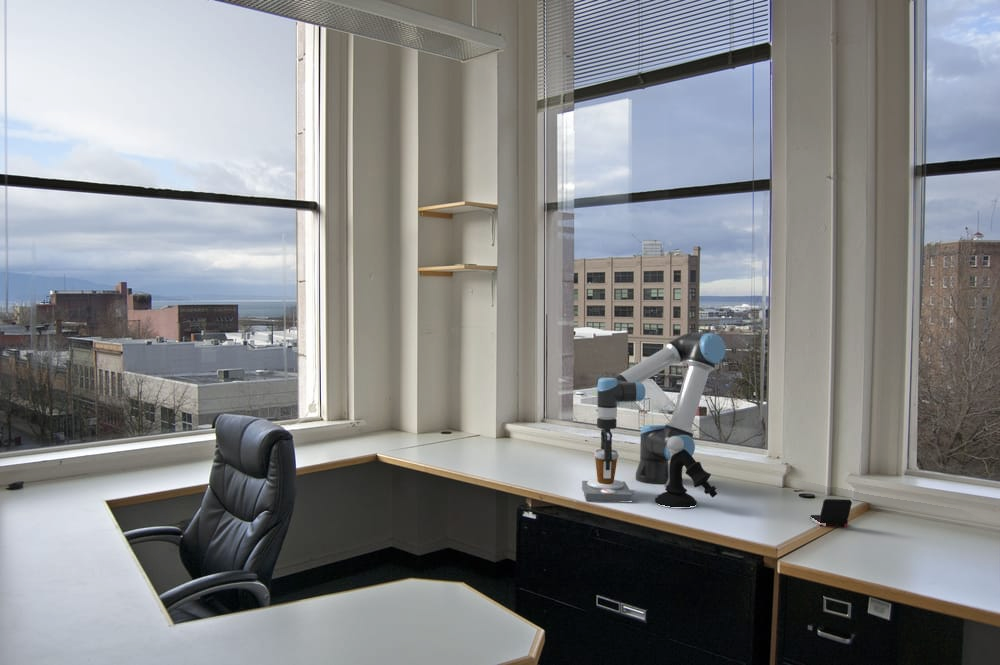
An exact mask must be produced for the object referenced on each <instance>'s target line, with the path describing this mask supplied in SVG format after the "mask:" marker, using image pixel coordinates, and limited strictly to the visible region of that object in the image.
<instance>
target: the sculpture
mask: <svg viewBox="0 0 1000 665" xmlns="http://www.w3.org/2000/svg"><path fill="white" fill-rule="evenodd" d="M667 446H668V448H669V449H670V450H669V451H670V459H671V460H669V461H668V463H669V467H668V468H669V469H668V470H669V471H668V475H669V476H668V477H669V479H668V480H667V482H666V483H664V485H663V487H664V488H665V489H664V490H665V491H663V492H661V493H660V494H658V495H657V497H655V498H654V503H655V502H656V503H658V504H660V505H665V506H670V507H690V506H695V505H696V504H697V505H698V501H697V500H696V499H695V498H694V496H692V495H691V494H689V493H687V492H688V490H687V489H686V488H685V487H684V484H683V468H684V467H685V469H686V470H685V474H686V476H688V477H689V478H691V480H692V483H693V487H694V488H699V487H703V489H704V490H703V492H704V494H706V495H708V494H709V495H710V497H711V498H712V499H713V498H715V497H716V496H717V495H719V494H718V492H717V487H716V486H715V485H713V486H712V485H711V484H710V483H709V481H708V480H709V479H710V477H711V475H712V473H709V472H707V471H706V470H705V469H704V468H703V466H702V464H701V462H700V461H696V460H695V459H694V457H693V455H692V456H691V455H690V454H689V453H688V452H687V451H686V450H685V449H684V448H683V446H684V441H683V440H682V438H680V437H678V436H672V437H670V438H669V439H668V441H667ZM656 503H655V504H656ZM658 504H657V505H658ZM660 505H659V506H660Z"/></svg>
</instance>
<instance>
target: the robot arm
mask: <svg viewBox="0 0 1000 665" xmlns="http://www.w3.org/2000/svg"><path fill="white" fill-rule="evenodd" d="M726 349H727V348H726V344H725V342H724V340H723V338H721V337H720V336H719V335H718V334H715V333H710V332H693V331H692V332H687V333H684V334H682V335H680V336H678V337H676V338H675V339H673V340H670V341H669V342H668V343H665V345H664V348H662V349H660V350H659V351H657V352H655V353H654V354H651V355H650V356H648V357H646V358H645V359H643V360H642V361H640V362H638V363H637V364H634V365H633V366H631V367H630V368H628V369H626V370H624V371H623V372H621V373H619V374H617V375H615V376H614V377H600V378H599V379H598V382H597V390H596V391H597V405H596V406H597V408H596V409H595V412H597V413H596V414H597V415H596V416H597V418H596V427H597V429H601V430H600V437H601V438H600V440H601V441H600V449H604V459H603V461H604V478H611V461H612V450H613V448H612V445H613V440H612V439H613V433H612V431H611V430H615V429H617V417H618V403H624V402H625V403H627V402H628V403H631V402H632V403H633V402H634V403H636V402H642V401H643V400H644V399H645V397H646V387H645V384H643V382H645V381H646V380H649V379H650V378H652V377H653V376H655V375H656V374H658V373H660V372H662V371H664V370H665V369H667V368H668V367H670V366H672V365H678V364H680V363H682V362H686V364H687V368H686V372H685V375H684V378H683V381H682V385H681V388H680V391H679V394H678V396H677V401H676V402H675V406H674V409H673V413H672V415H671V419H670V420H669V422H667V423H665V424H650V425H649V424H648V425H642V426H641V428H640V434H639V436H640V442H639V443H640V446H639V448H640V450H639V451H640V453H639V457H640V458H639V462H638V466H637V469H636V470H635V480H636V481H638V480H639V481H638V482H642V483H646V482H648V484H666V482H667V480H668V479H669V477H668V476H669V475H668V471H669V470H668V469H669V468H668V467H669V462H670V461H669V460H671V459H670V451H669V450H670V449H669V448H668V446H667V441H668V439H669V438H670V437H672V436H678V437H680V438H682V440H683V441H684V446H683V448H684V449H685V450H686V451H687V452H688V453H689V454H690V455H691V456H692V457H693V455H694V453H695V450H696V445H695V441H694V439H693V437H694V432H693V430H692V426H693V424H694V421H695V418H696V414H697V412H698V408H699V405H700V402H701V399H702V396H703V393H704V389H705V386H706V384H707V380H708V377H709V374H710V372H713V371H714V370H715V368H716V365H717V364H718V363H720V362H721V361H723V359H724V358H725V356H726V352H727V350H726ZM607 457H609V458H607Z"/></svg>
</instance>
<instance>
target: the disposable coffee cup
mask: <svg viewBox="0 0 1000 665" xmlns="http://www.w3.org/2000/svg"><path fill="white" fill-rule="evenodd" d="M593 455H594V458H595V459H594V460H595V469H596V477H597V478H596V479H597V481H598V482H599V483H602V484H612V483H614V480H615V476H616V475H615V474H616V469H617V463H618V458H619V453H618V451H617V450H615V449H612V461H611V478H604V461H603V459H604V449H601V448H598V449H596V450H595V451H594V453H593ZM607 458H609V457H607Z"/></svg>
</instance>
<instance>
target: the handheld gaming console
mask: <svg viewBox="0 0 1000 665" xmlns="http://www.w3.org/2000/svg"><path fill="white" fill-rule="evenodd" d="M852 504H853V502H852V500H851V499H843V498H842V499H840V498H839V499H838V498H836V499H835V498H831V499H830V498H825V499H824V500H823V503H822V506H821V510H820V511H821V512H820V514H810V518H811V517H812V518H814V519H815V520H817V521H818V522H820V523H826V527H828V528H831V527H832V528H833V527H834V528H835V527H836V528H847V527H848V521H849V520H848V519H849V515H850V512H851V508H852Z"/></svg>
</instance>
